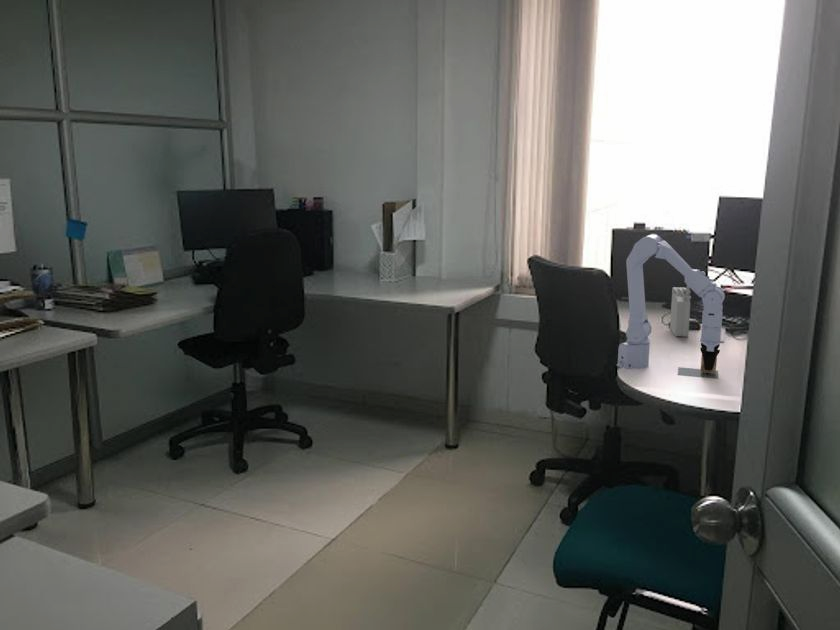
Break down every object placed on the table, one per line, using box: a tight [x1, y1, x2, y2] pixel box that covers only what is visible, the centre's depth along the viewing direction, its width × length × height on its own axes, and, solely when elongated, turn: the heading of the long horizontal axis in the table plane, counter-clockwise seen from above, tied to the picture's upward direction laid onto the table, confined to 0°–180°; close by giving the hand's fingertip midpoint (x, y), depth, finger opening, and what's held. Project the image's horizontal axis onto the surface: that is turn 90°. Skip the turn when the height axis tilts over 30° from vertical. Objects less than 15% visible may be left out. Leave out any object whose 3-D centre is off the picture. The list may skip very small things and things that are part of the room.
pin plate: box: [677, 366, 719, 380], centre depth 227 cm, size 12×9×1 cm
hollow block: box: [700, 354, 718, 373], centre depth 225 cm, size 4×4×5 cm
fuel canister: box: [669, 284, 692, 338], centre depth 277 cm, size 15×5×25 cm, turn 170°
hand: (708, 367), depth 225 cm, fingers closed on hollow block, 4 cm apart
